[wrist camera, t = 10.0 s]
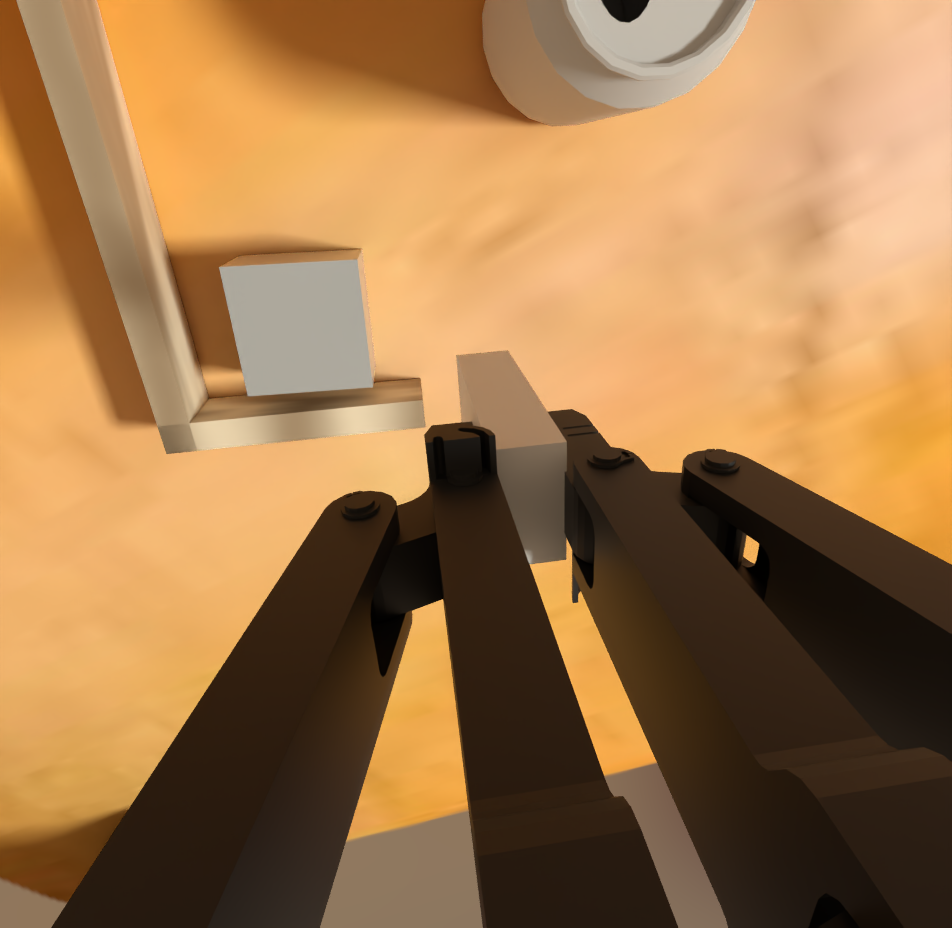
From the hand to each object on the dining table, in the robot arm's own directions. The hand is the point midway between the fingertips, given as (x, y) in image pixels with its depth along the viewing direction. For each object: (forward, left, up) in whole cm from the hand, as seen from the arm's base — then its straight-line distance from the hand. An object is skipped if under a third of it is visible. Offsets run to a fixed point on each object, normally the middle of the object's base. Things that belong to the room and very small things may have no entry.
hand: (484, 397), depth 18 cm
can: (+6, +11, -16) cm, 20 cm away
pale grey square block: (-7, 0, -16) cm, 17 cm away
